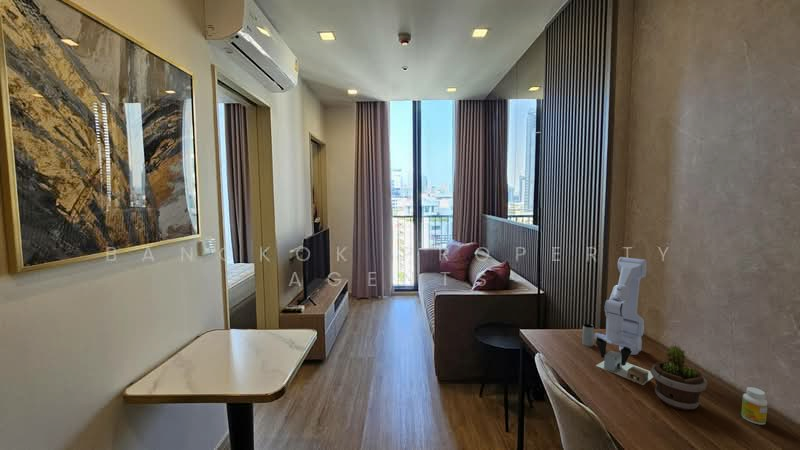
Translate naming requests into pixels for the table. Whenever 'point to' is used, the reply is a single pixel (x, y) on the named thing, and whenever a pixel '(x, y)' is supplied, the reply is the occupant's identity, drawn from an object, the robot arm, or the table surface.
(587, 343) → the grey cylinder
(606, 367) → the grey block
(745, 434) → the table surface
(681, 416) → the table surface
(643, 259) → the robot arm
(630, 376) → the cover
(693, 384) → the flowerpot
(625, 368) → the base
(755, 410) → the supplement bottle
